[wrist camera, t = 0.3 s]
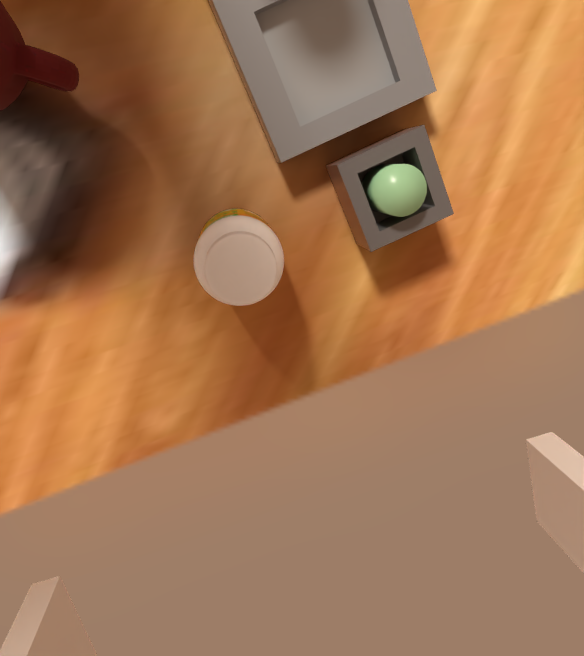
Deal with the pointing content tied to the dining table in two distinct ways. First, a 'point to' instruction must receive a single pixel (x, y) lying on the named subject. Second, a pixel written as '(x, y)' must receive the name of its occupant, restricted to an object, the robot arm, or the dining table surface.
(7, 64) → the mug
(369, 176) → the light green egg
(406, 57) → the grey slotted tray
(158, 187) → the dining table surface
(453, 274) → the dining table surface
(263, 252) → the supplement bottle
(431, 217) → the grey square holder
